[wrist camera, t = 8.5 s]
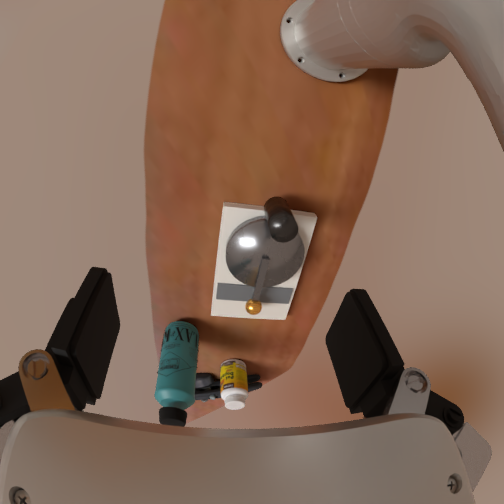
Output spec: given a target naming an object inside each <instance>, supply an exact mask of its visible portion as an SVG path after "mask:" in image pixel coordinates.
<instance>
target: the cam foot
mask: <svg viewBox="0 0 504 504" xmlns="http://www.w3.org/2000/svg"><path fill="white" fill-rule="evenodd" d="M264 212H265V216H258V217H254V218H251V219H248V220H246V221H244V222H243V223H241V224H240V225H239V226H237V227H236V228H235V229H234V230H233V232H232V233H231V235H230V236H229V238H228V241H227V244H226V263H227V267H228V269H229V271H230V272H231V274H232V275H233V276H234V277H235V278H236V279H237V280H239V281H240V282H242V283H244V284H246V285H249V286H252V287H254V291H253V295H252V299H249V300H248V301H247V302H246V305H245V309H246V311H247V312H248V313H249V314H251V315H257V314H258V313H260V312H261V310H262V304H261V302H260V301H259V298H260V294H261V290H262V288H264V287H272V286H276V285H279V284H281V283H283V282H285V281H287V280H288V279H290V278H291V277H292V276H293V275H294V274H295V273H296V272H297V271H298V270H299V268H300V267H301V265H302V262H303V259H304V254H305V250H304V244H303V241H302V239H301V237H300V234H299V233H298V225H297V222H296V220H295V218H294V216H293V214H292V212H291V210H290V208H289V205H288V203H287V202H286V200H285V199H283V198H281V197H272V198H270V199H269V200H267V202H266V203H265V205H264Z"/></svg>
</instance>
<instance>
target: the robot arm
mask: <svg viewBox="0 0 504 504" xmlns="http://www.w3.org/2000/svg"><path fill="white" fill-rule="evenodd" d="M287 20H289V21H290V23H287V22H286V21H287ZM280 37H281V42H282V45H283V47H284V50H285V52H286V53H287V55H288V57H289V58H290V59H291V61H292V62H293V63H294V64H295V65H296V66H297V67H298V68H300V69H301V70H302V71H303V72H305V73H307V74H309V75H310V76H312V77H315V78H318V79H320V80H325V81H330V82H342V81H348V80H352V79H354V78H356V77H358V76H360V75H362V74H363V73H364V72H366V71H367V70H368V68H424V67H428V66H432V65H434V64H436V63H438V62H439V61H441V60H442V59H444V58H445V57H446V56H447V55H448V53H449V52H451V53H452V54H453V56H454V57H455V58H456V60H457V61H458V63H459V65H460V66H461V68H462V69H463V71H464V73H465V74H466V76H467V78H468V79H469V80H470V81H471V83H472V85H473V87H474V88H475V90H476V92H477V94H478V96H479V98H480V100H481V102H482V104H483V106H484V108H485V110H486V112H487V115H488V117H489V119H490V121H491V123H492V126H493V128H494V130H495V133H496V135H497V137H498V140H499V142H500V144H501V146H502V149H503V151H504V0H297V1H296V2H294V3H293V4H292V5H291V6H290V7H289V8H288V9H287V11H286V12H285V14H284V16H283V18H282V21H281V25H280ZM298 59H301V62H298ZM339 74H341V77H339ZM119 329H120V320H119V315H118V310H117V305H116V299H115V294H114V288H113V283H112V277H111V274H110V273H108V272H107V270H106V269H105V268H98V267H92V268H91V269H90V271H89V272H88V274H87V276H86V278H85V279H84V281H83V283H82V285H81V287H80V289H79V290H78V292H77V294H76V296H75V298H71V299H70V300H69V302H68V304H67V306H66V308H65V310H64V311H63V313H62V315H61V317H60V320H59V321H58V323H57V325H56V328H55V330H54V332H53V334H52V336H51V338H50V340H49V342H48V345H47V347H46V349H45V351H44V350H41V349H36V350H31V351H29V352H27V353H26V354H25V355H24V356H23V357H22V358H21V360H20V363H19V367H18V368H19V371H18V372H16V373H15V374H12V375H10V376H8V377H6V378H4V379H2V380H0V504H475V500H474V496H473V493H472V492H473V491H474V489H475V487H476V485H477V484H478V482H479V480H480V478H481V476H482V475H483V473H484V471H485V469H486V467H487V465H488V463H489V461H490V458H491V455H492V451H491V447H490V445H489V444H488V443H487V441H486V440H485V439H484V438H483V437H482V436H481V435H480V434H479V433H478V432H477V431H476V430H475V429H474V428H473V427H472V426H471V425H470V424H469V423H468V422H466V423H465V424H464V416H463V413H462V411H461V409H460V408H459V407H458V406H457V405H455V404H454V403H452V402H450V401H448V400H447V399H445V398H443V397H441V396H440V395H438V394H436V393H434V392H433V391H431V390H430V387H431V384H430V380H429V378H428V377H427V375H426V374H425V373H424V372H423V371H421V370H420V369H417V368H412V367H410V368H407V369H404V367H403V366H404V362H403V360H402V358H401V356H400V354H399V352H398V350H397V348H396V346H395V344H394V342H393V340H392V338H391V336H390V334H389V332H388V330H387V328H386V326H385V325H384V323H383V321H382V319H381V317H380V315H379V313H378V312H377V310H376V308H375V306H374V304H373V302H372V301H371V299H370V297H369V295H368V293H367V292H366V290H364V289H352V290H350V292H347V294H346V295H345V297H344V299H343V302H342V303H341V306H340V308H339V310H338V312H337V314H336V317H335V318H334V321H333V323H332V325H331V327H330V329H329V331H328V333H327V335H326V345H327V348H328V351H329V354H330V357H331V360H332V363H333V367H334V370H335V373H336V376H337V379H338V383H339V385H340V389H341V392H342V396H343V399H344V402H345V405H346V407H348V408H349V409H350V412H351V414H354V413H360V412H363V415H364V417H363V419H359V420H353V421H346V422H339V423H332V424H324V425H314V426H304V427H291V428H274V429H211V428H193V427H181V426H171V425H162V424H154V423H147V422H139V421H133V420H127V419H121V418H115V417H109V416H104V415H99V414H94V413H88V412H84V411H83V409H84V408H85V406H86V403H87V404H91V405H95V402H96V398H97V399H100V397H101V394H102V390H103V386H104V382H105V378H106V374H107V371H108V367H109V363H110V360H111V356H112V353H113V349H114V346H115V343H116V339H117V336H118V333H119Z"/></svg>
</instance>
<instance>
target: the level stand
mask: <svg viewBox="0 0 504 504" xmlns="http://www.w3.org/2000/svg"><path fill="white" fill-rule="evenodd" d="M291 212H292V214H293V216H294V218H295V220H296V222H297V225H298V233H299V234H300V237H301V239H302V241H303V244H304V250H305V254H304V259H303V262H302V265H301V267H300V268H299V270H298V271H297V272H296V273H295V274H294V275H293V276H292V277H291V278H290V279H288V280H287V281H285V282H283V283H281V284H279V285H276V286H272V287H264V288H262V290H261V294H260V298H259V301H260V302H261V304H262V310H261V312H260V313H258V314H257V315H251V314H249V313H248V312H247V311H246V309H245V305H246V302H247V301H248V300H249V299H252V295H253V291H254V287H252V286H249V285H246V284H244V283H242V282H240V281H239V280H237V279H236V278H235V277H234V276H233V275H232V274H231V272H230V271H229V269H228V267H227V263H226V244H227V241H228V238H229V236H230V235H231V233H232V232H233V230H234V229H235V228H236V227H237V226H239V225H240V224H241V223H243V222H244V221H246V220H248V219H251V218H254V217H258V216H265V212H264V206H257V205H249V204H240V203H231V202H224V203H223V211H222V219H221V227H220V235H219V243H218V252H217V261H216V270H215V279H214V288H213V298H212V308H211V316H224V317H239V318H257V319H279V320H285V319H286V316H287V313H288V310H289V307H290V304H291V301H292V298H293V295H294V292H295V289H296V286H297V283H298V280H299V277H300V274H301V270H302V267H303V264H304V261H305V258H306V254H307V251H308V248H309V244H310V241H311V238H312V234H313V231H314V227H315V224H316V221H317V216H316V215H315V213H311V212H304V211H297V210H291Z"/></svg>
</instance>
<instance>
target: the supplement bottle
mask: <svg viewBox="0 0 504 504" xmlns="http://www.w3.org/2000/svg"><path fill="white" fill-rule="evenodd" d="M220 380H221V381H220V382H221V398H222V399H223V400H225V401H224V402H225V407H226V408H228V409H233V410H235V409H241V408H243V407H244V406H245V399H246V398H247V397H248V384H247V371H246V365H245V363H244V362H243V361H241V360H238V359H229V360H226V361H224V362H223V363H222V364H221V367H220Z"/></svg>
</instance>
